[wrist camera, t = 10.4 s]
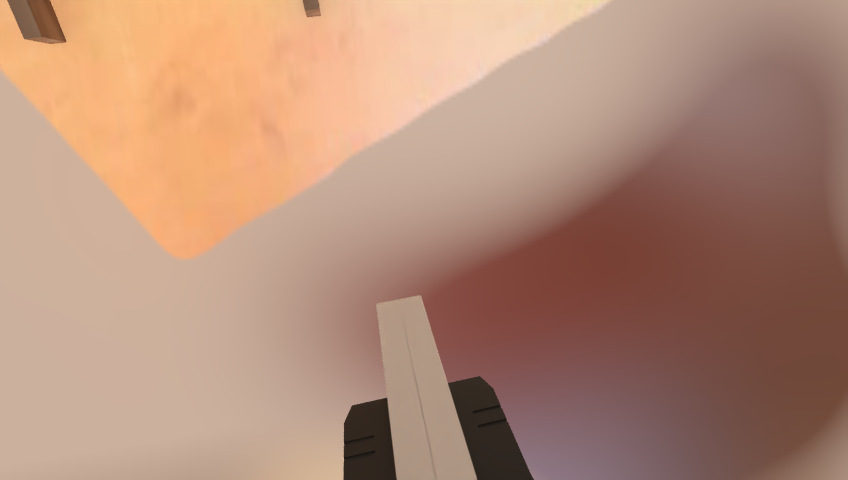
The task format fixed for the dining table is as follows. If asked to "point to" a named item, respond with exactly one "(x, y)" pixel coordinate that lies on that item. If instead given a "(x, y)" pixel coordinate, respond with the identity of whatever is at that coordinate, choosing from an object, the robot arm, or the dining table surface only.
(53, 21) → the box
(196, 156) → the dining table surface
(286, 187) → the dining table surface
